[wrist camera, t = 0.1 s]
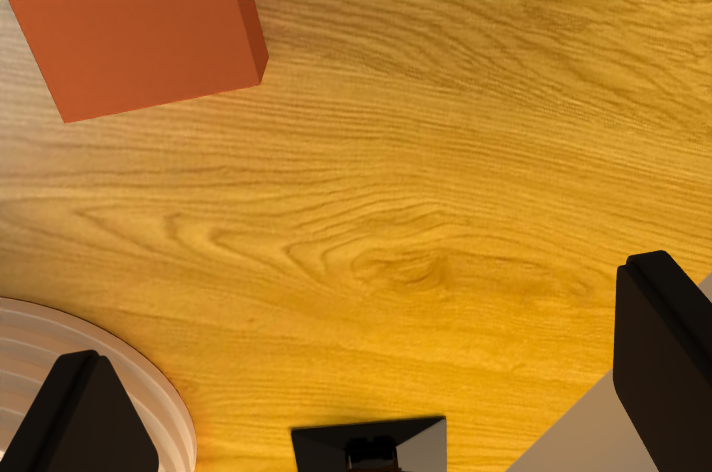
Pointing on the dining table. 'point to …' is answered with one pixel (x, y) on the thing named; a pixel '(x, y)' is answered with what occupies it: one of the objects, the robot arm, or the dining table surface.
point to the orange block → (141, 51)
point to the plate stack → (70, 334)
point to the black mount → (373, 446)
